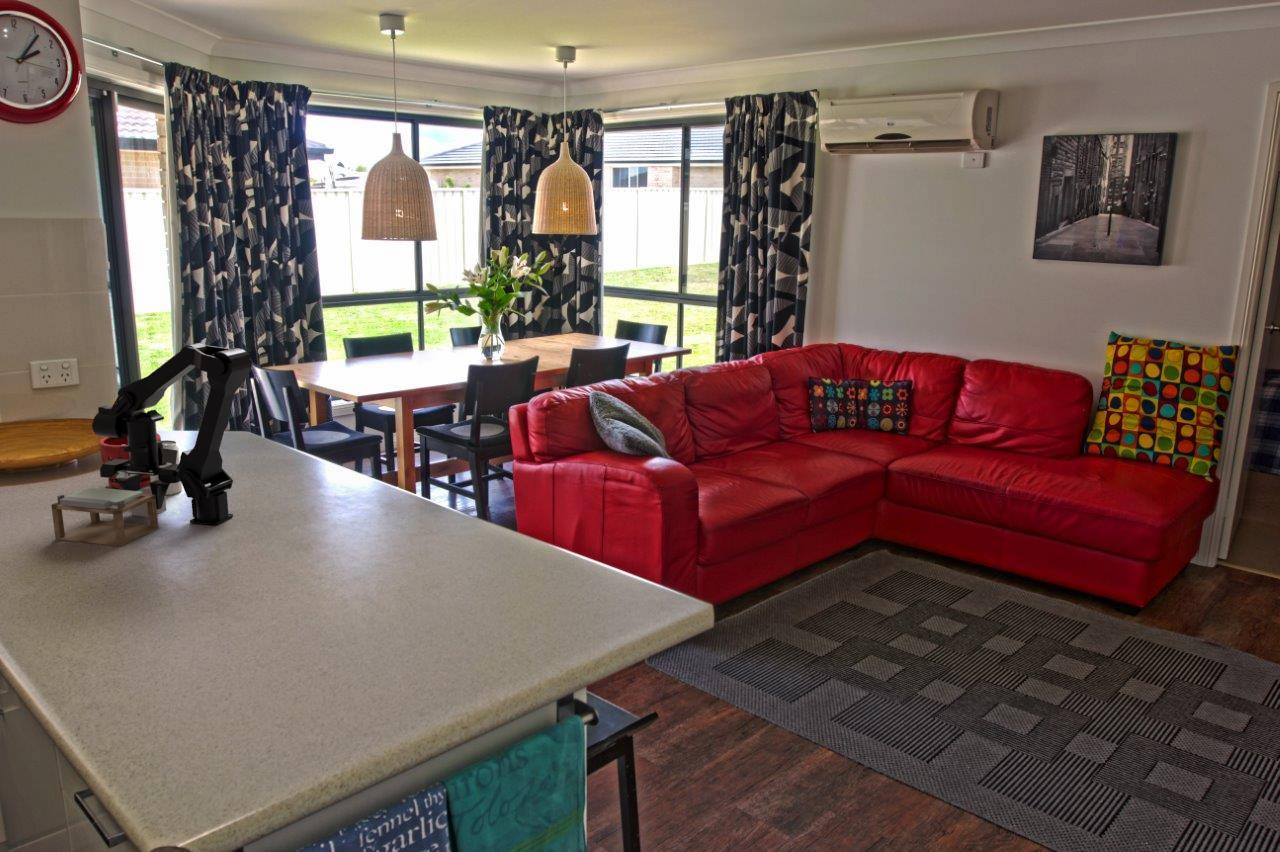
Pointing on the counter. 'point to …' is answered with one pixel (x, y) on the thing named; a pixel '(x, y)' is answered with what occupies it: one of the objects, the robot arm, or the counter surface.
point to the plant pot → (119, 456)
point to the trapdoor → (98, 498)
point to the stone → (145, 505)
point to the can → (167, 444)
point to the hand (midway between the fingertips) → (149, 508)
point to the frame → (106, 523)
